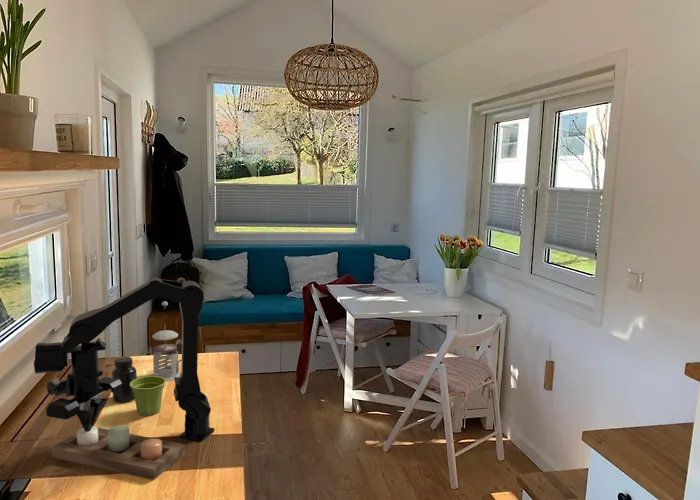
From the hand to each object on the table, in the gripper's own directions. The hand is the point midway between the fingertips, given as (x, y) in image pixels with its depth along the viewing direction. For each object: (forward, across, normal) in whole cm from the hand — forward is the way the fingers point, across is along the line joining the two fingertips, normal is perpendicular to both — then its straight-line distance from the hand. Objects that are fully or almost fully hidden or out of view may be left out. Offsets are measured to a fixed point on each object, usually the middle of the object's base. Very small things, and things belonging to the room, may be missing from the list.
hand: (87, 430), depth 135 cm
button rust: (+4, 0, +18) cm, 18 cm away
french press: (+5, -48, -11) cm, 50 cm away
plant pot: (+5, -23, 0) cm, 24 cm away
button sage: (+2, 0, +9) cm, 9 cm away
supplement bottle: (+5, -28, -12) cm, 31 cm away
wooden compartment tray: (+5, 0, +9) cm, 10 cm away
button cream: (+4, 0, 0) cm, 4 cm away
